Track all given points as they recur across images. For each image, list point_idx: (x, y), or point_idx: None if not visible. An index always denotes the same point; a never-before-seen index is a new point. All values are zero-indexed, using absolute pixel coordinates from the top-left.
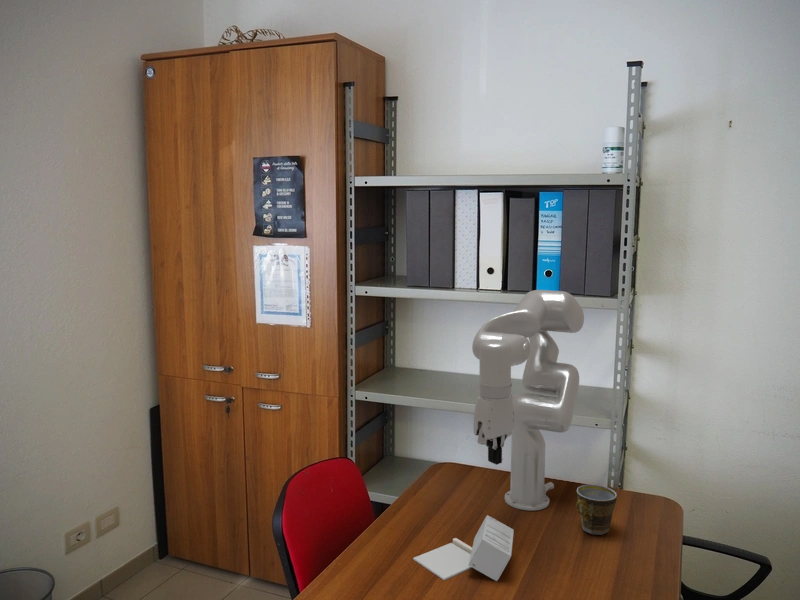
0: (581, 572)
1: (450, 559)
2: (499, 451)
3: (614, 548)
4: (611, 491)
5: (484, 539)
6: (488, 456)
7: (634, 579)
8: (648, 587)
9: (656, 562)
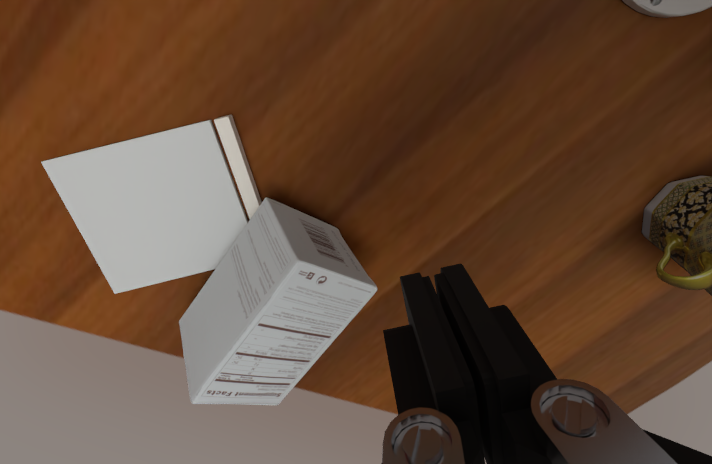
0: None
1: (167, 215)
2: (485, 457)
3: (620, 309)
4: None
5: (199, 401)
6: (386, 343)
7: None
8: None
9: (637, 379)
